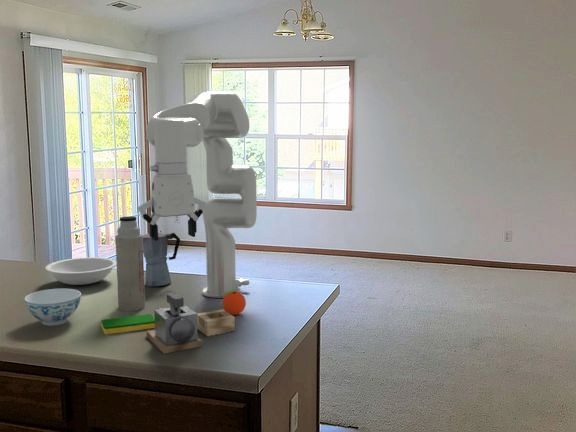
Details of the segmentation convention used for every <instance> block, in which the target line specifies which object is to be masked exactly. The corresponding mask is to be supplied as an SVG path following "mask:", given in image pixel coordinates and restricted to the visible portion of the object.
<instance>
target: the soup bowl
mask: <svg viewBox="0 0 576 432" xmlns="http://www.w3.org/2000/svg"><path fill="white" fill-rule="evenodd" d="M115 267H117V262H116V259H115V260H114V259H111V258H109V257H108V258H106V257H92V256H91V257H90V256H89V257H75V258H68V259H67V258H66V259H61V260H57V261H54V262H51V263H48V264H47V265H46V266H45V268H44V269H45V271H46V272H48V273H50V274H51V275H52V276H53V278H54V279H56V280H57V281H59V283H62V284H67V285H71V286H79V285H80V286H81V285H82V286H83V285H90V284H94V283H97V282H100V281H102V280H104V279H106V277H107V276H109V274H110V273H111V272H112V270H113V268H115Z"/></svg>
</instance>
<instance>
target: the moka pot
mask: <svg viewBox="0 0 576 432" xmlns="http://www.w3.org/2000/svg"><path fill="white" fill-rule="evenodd" d="M142 236H143V258H144V261H145V276H144V285H145V286H146V287H154V288H155V287H163V286H166V285H169V284H171V283H172V280H171V275H170V270H169V266H168V262H167V260H171V261H172V260H176V258H177V255H178V250H179V247H180V243H181V238H180V237H179V236H178V235H177V234H176V233H175V232H172V233H163V232H158V240H157V241H155V240H153V239H152V237H150V232H149V233H146V234H142ZM172 239H175V246H174V250H173V254H172V256H169V257H167V256H168V244H169V243H168V241H169V240H172Z"/></svg>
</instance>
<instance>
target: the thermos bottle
mask: <svg viewBox="0 0 576 432" xmlns="http://www.w3.org/2000/svg"><path fill="white" fill-rule="evenodd" d="M119 221H120V222H119V223H120V224H119V227H117V230H116V232H117V234H116V235H115V254H116V255H115V257H116V258H115V261H116V262H117V265H116V277H117V280H116V281H117V302H118V304H117V305H118V309H119V310H121V311H125V312H126V311H131V312H132V311H138V310H142V309H145V307H146V294H145V292H146V291H145V290H146V289H145V269H144V268H145V265H144V261H145V260H144V253H143V236H142V235H143V234H142V233H141V227H139V226H138V225H137V224H138V223H137V217H136V216H121V217H119Z"/></svg>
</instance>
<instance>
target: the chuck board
mask: <svg viewBox="0 0 576 432" xmlns="http://www.w3.org/2000/svg"><path fill="white" fill-rule="evenodd" d="M146 338H147V339H148V340H150V341H151V343H152V344H154V346H156V347H157V348H158V349H159V351H161V352H162V354H169V353H174V352H179V351H183V350H190V349H194V348H195V349H196V348H199V347H203V340H202V339H201V338H199V337H198V340H196V341H191V342H185V343H180V344H175V345H169V346H165V345H164V344H163V343H162V342H161V341H160V340H159V339H158V338H157V337H156V336H155V329H150V330H146Z"/></svg>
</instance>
